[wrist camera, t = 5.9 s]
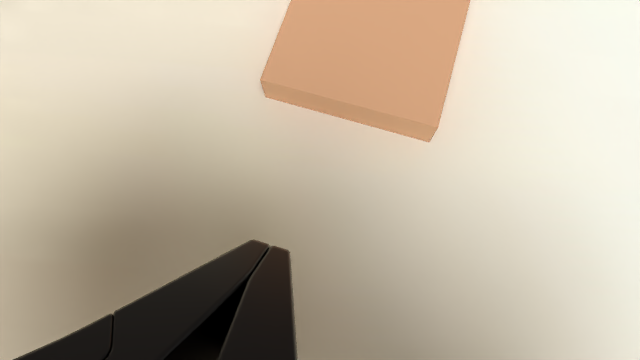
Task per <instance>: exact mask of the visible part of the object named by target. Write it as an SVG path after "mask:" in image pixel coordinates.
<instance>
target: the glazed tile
mask: <svg viewBox="0 0 640 360" xmlns="http://www.w3.org/2000/svg"><path fill="white" fill-rule="evenodd" d="M469 3H470V0H291V2H290V4H289V7H288V10H287V12H286V15H285V17H284V20H283V22H282V25H281V28H280V30H279V33H278V35H277V38H276V40H275V43H274V46H273V48H272V51H271V53H270V56H269V58H268V61H267V64H266V66H265V69H264V71H263V74H262V76H261V79H260V81H261V84H262V87H263V90H264V93H265V96H266V97H267V98H271V99H275V100H278V101H282V102H285V103H289V104H293V105H296V106H300V107H303V108H307V109H311V110H314V111H318V112H322V113H325V114H329V115H332V116H336V117H340V118H343V119H347V120H350V121H354V122H358V123H361V124H365V125H369V126H372V127H376V128H379V129H383V130H387V131H390V132H394V133H397V134H401V135H405V136H408V137H412V138H416V139H419V140H423V141H426V142H430V140H431V138H432V137H433V135H434V133H435V131H436V130H437V128H438V125H439V121H440V117H441V113H442V109H443V105H444V101H445V97H446V94H447V90H448V86H449V82H450V78H451V74H452V70H453V66H454V62H455V58H456V54H457V50H458V46H459V42H460V39H461V35H462V31H463V27H464V23H465V19H466V15H467V11H468V7H469Z"/></svg>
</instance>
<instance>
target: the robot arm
mask: <svg viewBox="0 0 640 360" xmlns="http://www.w3.org/2000/svg"><path fill="white" fill-rule="evenodd" d="M13 360H297V346H296V332H295V317H294V303H293V288H292V274H291V259H290V252H289V251H288V250H286V249H283V248H279V247H276V246H271V247H270V245H269V244H266V243H263V242H260V241H257V240H250V241H248V242H246V243H244V244H242V245H240V246H238V247H237V248H235V249H233V250H231V251H229V252H227V253H225V254H223V255H221V256H219V257H217V258H216V259H214V260H212V261H210V262H208V263H206V264H204V265H202V266H200V267H198V268H196V269H195V270H193V271H191V272H189V273H187V274H185V275H183V276H181V277H179V278H177V279H175V280H174V281H172V282H170V283H168V284H166V285H164V286H162V287H160V288H158V289H156V290H154V291H153V292H151V293H149V294H147V295H145V296H143V297H141V298H139V299H137V300H135V301H134V302H132V303H130V304H128V305H126V306H124V307H122V308H120V309H118V310H116V311H115V312H114V313H113V315H112V314H108V315H106V316H105V317H103V318H101V319H99V320H97V321H95V322H93V323H91V324H89V325H87V326H85V327H83V328H81V329H79V330H77V331H75V332H73V333H71V334H69V335H67V336H65V337H63V338H61V339H59V340H56V341H54V342H52V343H50V344H47V345H45V346H43V347H41V348H38V349H36V350H34V351H32V352H30V353H27V354H25V355H23V356H20V357H18V358H16V359H13Z"/></svg>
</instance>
